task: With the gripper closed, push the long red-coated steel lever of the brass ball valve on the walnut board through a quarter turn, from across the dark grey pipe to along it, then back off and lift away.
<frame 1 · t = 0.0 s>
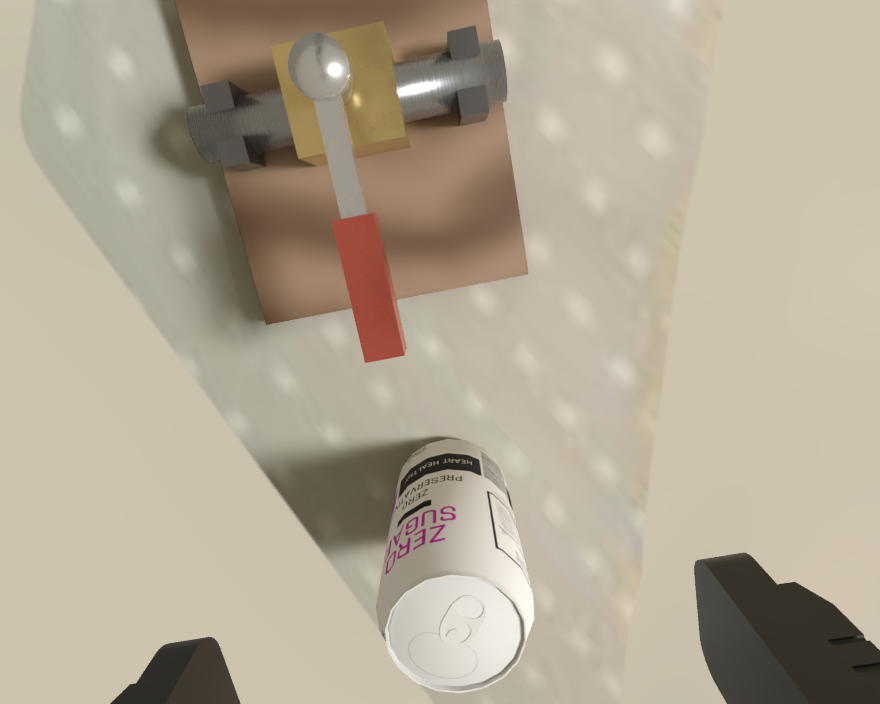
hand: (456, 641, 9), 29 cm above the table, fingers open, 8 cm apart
valve board: (358, 113, 34), on the table
pipe valve: (358, 113, 34), resting on valve board
supplement can: (451, 483, 41), on the table
valve lever: (353, 208, 25), point 10 cm above the table, hinge at 0.0°
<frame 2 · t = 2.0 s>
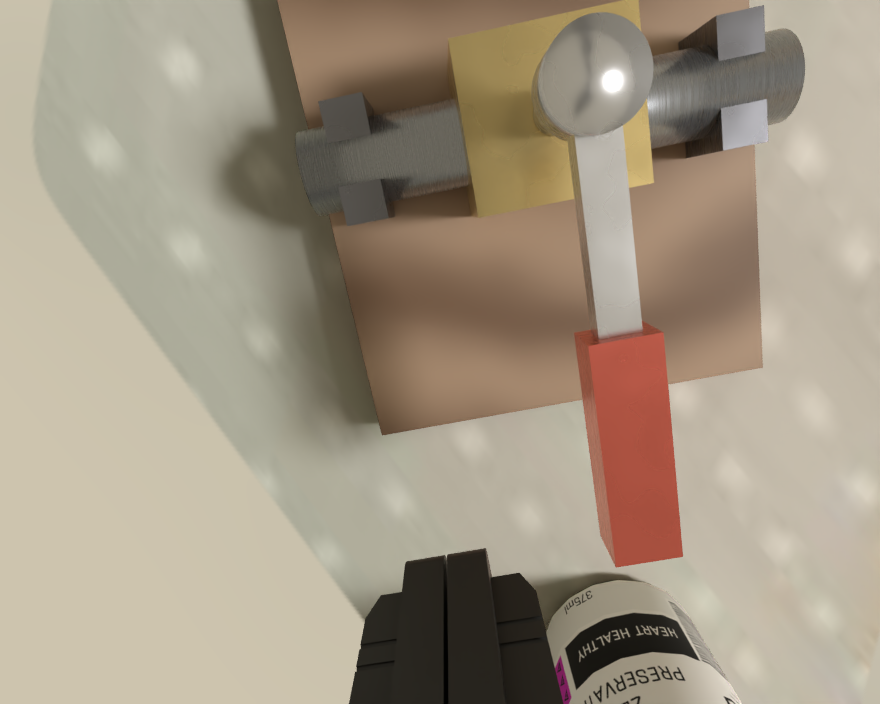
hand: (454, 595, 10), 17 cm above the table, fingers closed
valve board: (525, 138, 23), on the table
pipe valve: (525, 138, 23), resting on valve board
supplement can: (612, 629, 30), on the table
valve lever: (614, 318, 15), point 10 cm above the table, hinge at 0.0°
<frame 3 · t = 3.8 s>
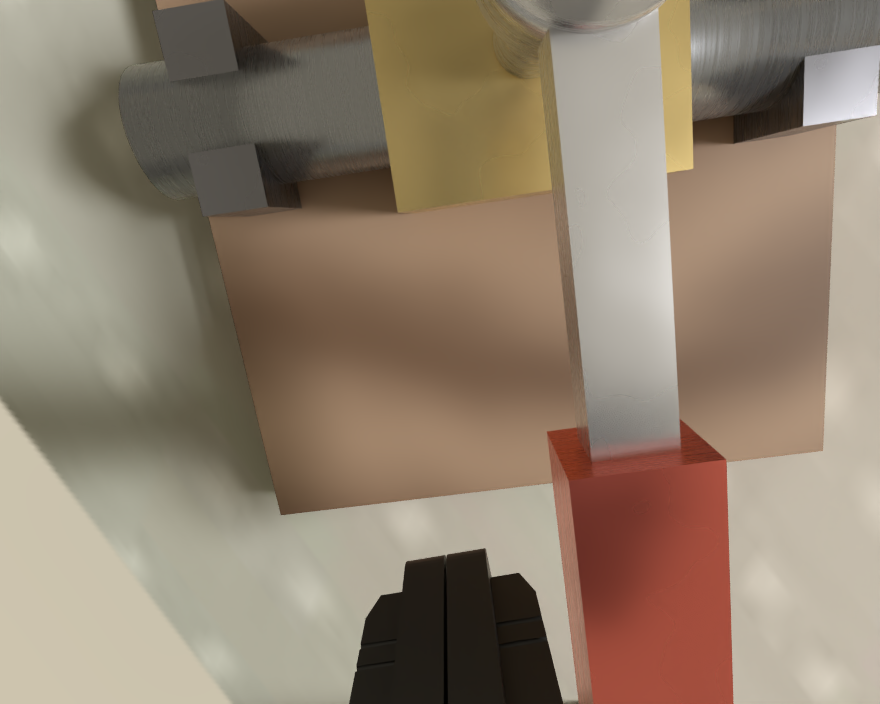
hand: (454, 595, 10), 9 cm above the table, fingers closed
valve board: (499, 105, 16), on the table
pipe valve: (499, 105, 16), resting on valve board
valve lever: (624, 418, 7), point 10 cm above the table, hinge at 1.1°, touching gripper
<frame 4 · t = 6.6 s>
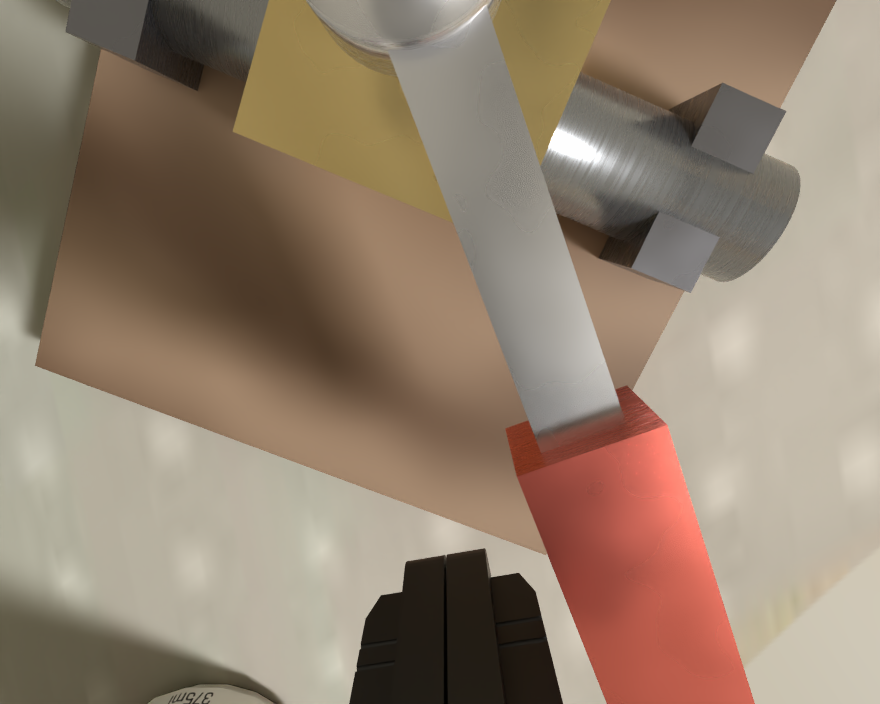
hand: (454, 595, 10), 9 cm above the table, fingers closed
valve board: (433, 110, 16), on the table
pipe valve: (433, 110, 16), resting on valve board
valve lever: (567, 402, 7), point 10 cm above the table, hinge at 43.6°, touching gripper
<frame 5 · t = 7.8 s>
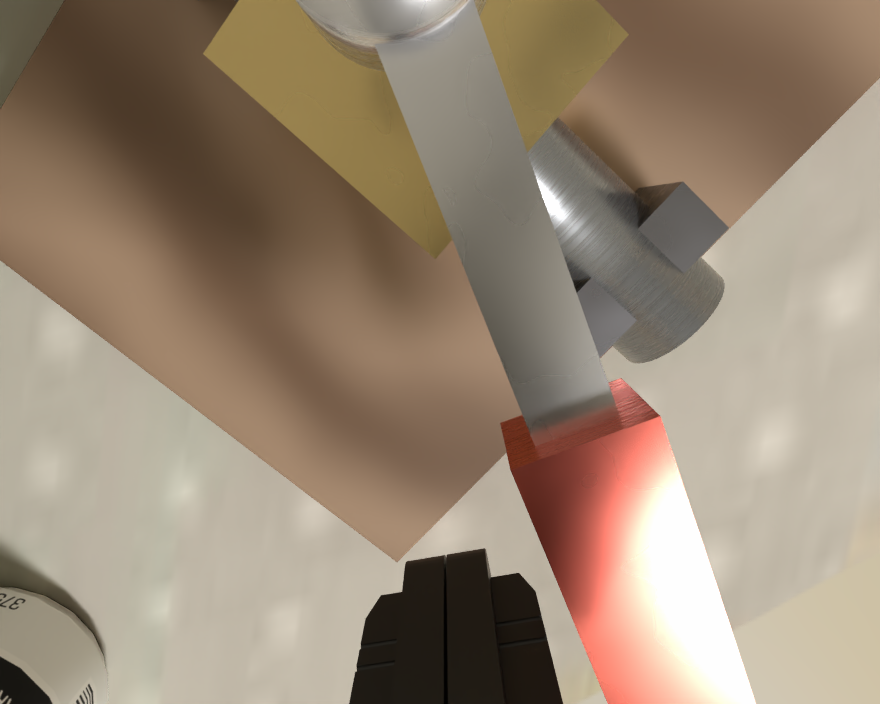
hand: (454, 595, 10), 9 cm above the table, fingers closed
valve board: (428, 107, 16), on the table
pipe valve: (428, 107, 16), resting on valve board
supplement can: (25, 654, 22), on the table
valve lever: (561, 395, 7), point 10 cm above the table, hinge at 63.6°, touching gripper
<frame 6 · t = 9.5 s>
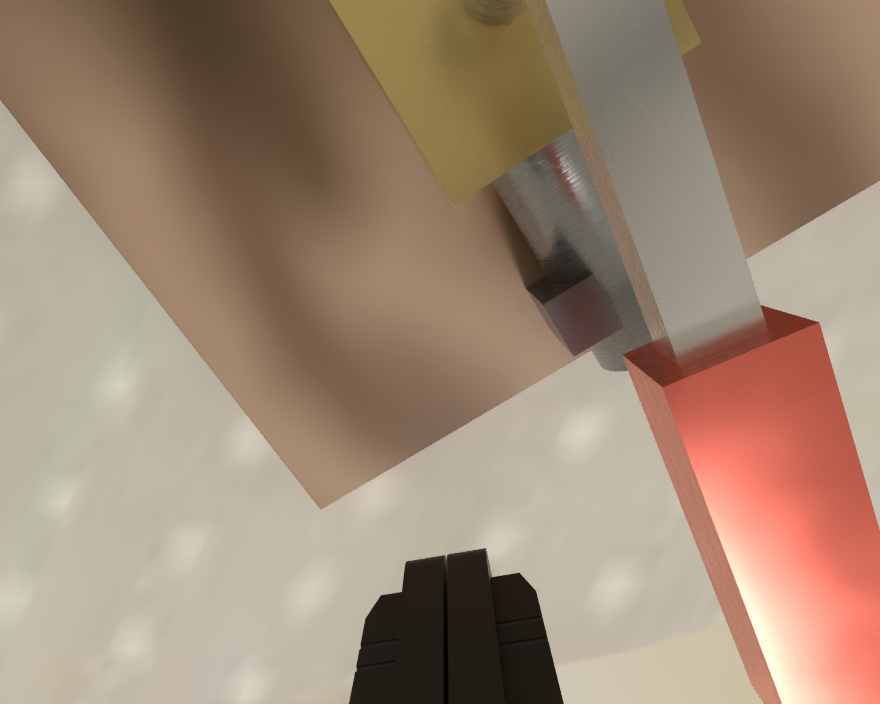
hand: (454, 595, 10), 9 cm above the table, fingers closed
valve board: (477, 69, 16), on the table
pipe valve: (477, 69, 16), resting on valve board
valve lever: (699, 314, 7), point 10 cm above the table, hinge at 82.2°
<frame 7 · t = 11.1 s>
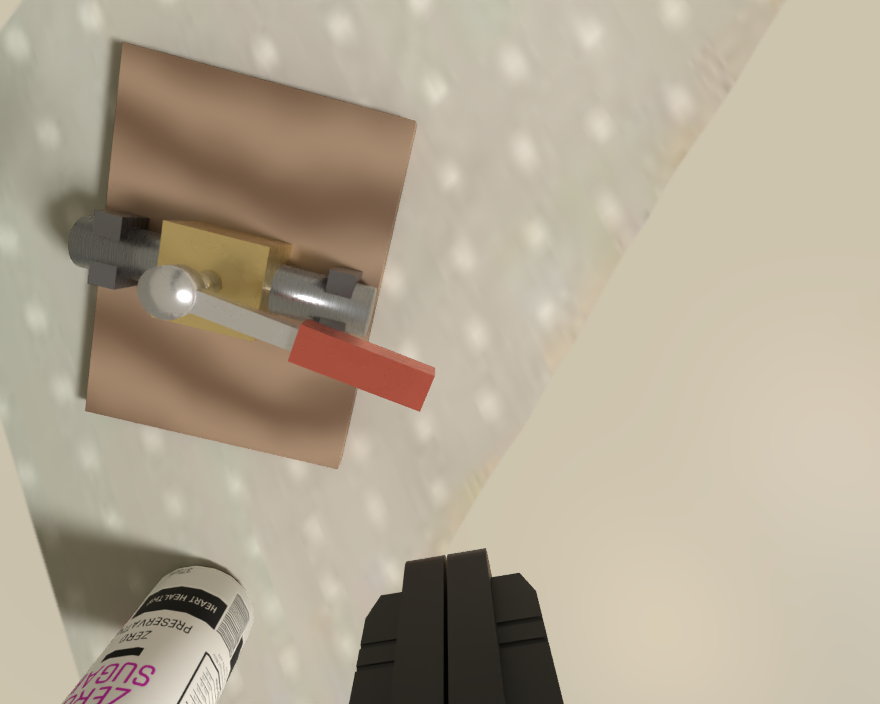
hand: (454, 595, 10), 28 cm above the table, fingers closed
valve board: (248, 273, 36), on the table
pipe valve: (248, 273, 36), resting on valve board
supplement can: (206, 603, 42), on the table
valve lever: (290, 336, 26), point 10 cm above the table, hinge at 82.2°
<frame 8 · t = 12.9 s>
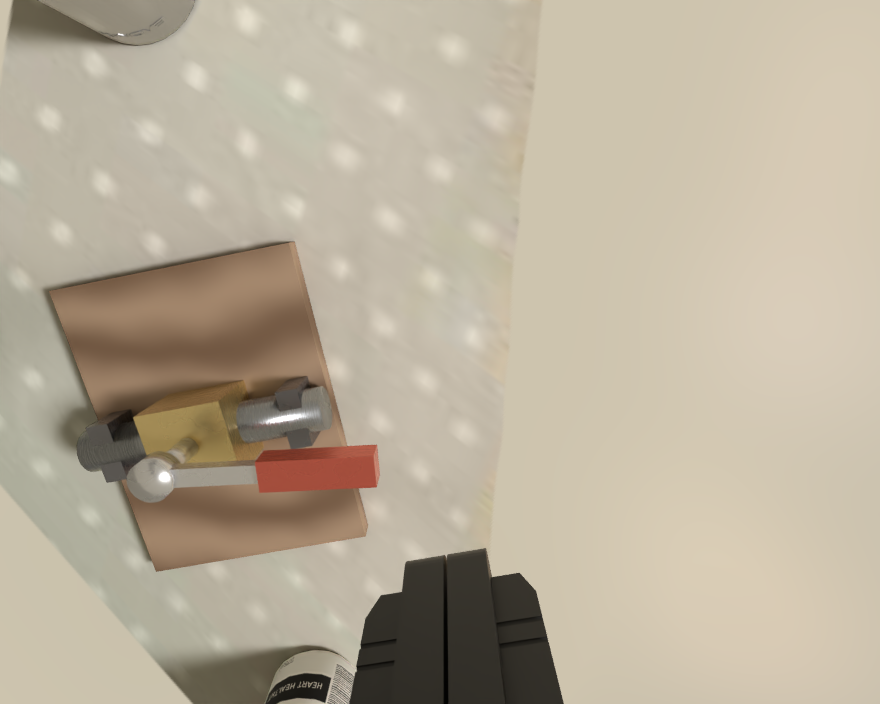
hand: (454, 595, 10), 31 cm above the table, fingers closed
valve board: (224, 413, 42), on the table
pipe valve: (224, 413, 42), resting on valve board
supplement can: (320, 679, 49), on the table
valve lever: (255, 471, 32), point 10 cm above the table, hinge at 82.2°
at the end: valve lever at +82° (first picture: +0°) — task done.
